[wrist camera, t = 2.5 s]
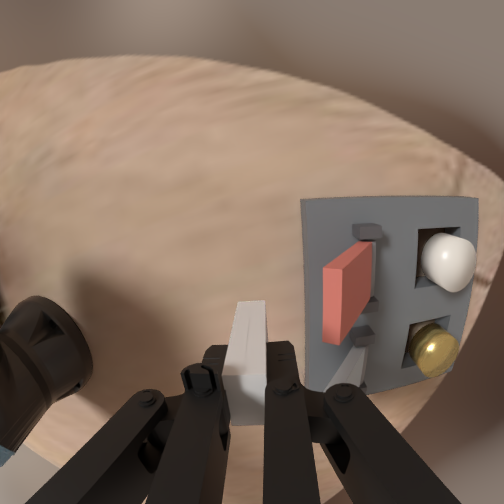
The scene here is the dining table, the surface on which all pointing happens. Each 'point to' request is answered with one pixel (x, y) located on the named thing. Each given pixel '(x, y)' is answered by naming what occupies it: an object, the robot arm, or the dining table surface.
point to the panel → (381, 281)
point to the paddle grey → (352, 367)
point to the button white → (448, 261)
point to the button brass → (433, 349)
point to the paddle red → (347, 289)
